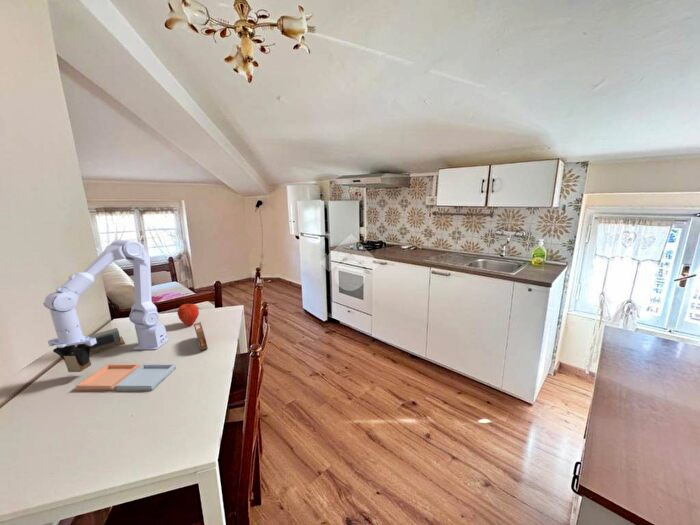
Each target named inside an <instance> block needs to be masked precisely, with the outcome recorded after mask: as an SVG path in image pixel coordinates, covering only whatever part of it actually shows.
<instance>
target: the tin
mask: <svg viewBox="0 0 700 525" xmlns="http://www.w3.org/2000/svg"><path fill="white" fill-rule="evenodd" d="M193 325H194V327H193V328H194V329H195V334H196V338H197V341H198V346H199V349H200V350H201V351H203V350H206V349H208V344H207V340H206V335H205V331H204V328H203V326H202V322H201V321H199V322H197V323H194V324H193Z"/></svg>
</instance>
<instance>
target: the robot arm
mask: <svg viewBox="0 0 700 525" xmlns="http://www.w3.org/2000/svg"><path fill="white" fill-rule="evenodd" d="M120 260H127V261H128V262H129V263H131V264H132V266H133V268H132V269H133V286H134V287H133V289H134V303H133V304H132V305H131V307H130V309H131V310H130V313H129V316H128V317H129V320H130V321H129V322H131V323H133V324H134V329H135V332H136V333H135V334H136V337H137V343H138V345H137V346H135V347H133V350H138V351H139V350H140V351H141V350H147V351H148V350H152V351H153V350H157V349H159V348H160V347H161V346H163V345H164V344H166V343H167V342H168V341H170V339H169V338H168V334H167V329H166V326H165V325H163V324H160V323H158V322H159V321H160V314H159V312H158V308H157V306H156V305H155V304H154V302H153V301H152V275H151V274H152V272H151V258H150V256H149V254H148V252H147V251H146V249H145V245H144V244H142V243H140V242H139V241H138V240H133V239H132V240H127V239H126V240H125V239H116V240H113V241H112V242H111V243H109V245H107V246H106V247H105V248H104V250H103V252H101V254H100V255H98V256H97V257H96V258H95V260H93V261H92V263H90V265H88V267H87V268H86V269H85V270H83V271H81V272H75V273H74V274H70V275H69V276H68V280H67V281H65V282H64V283H63V284H62V285H61V286H60V287H57V288H56V289H55V291H53V292H50V293H49V294H48V295H47V296H45V298H44V301H43V306H44V307H45V308H46V309H49V313H50V314H51V319H52V322H53V326H54V329H55V333H56V336H57V337H54V338H52V339H49V340H47V343H48V344H47V345H48V347H54V346H56V347H55V348H54V349H53V350H52V351H53V353H55V354H57V355H58V356H59V357H60V358H61V359H62V360H63V361H64V362H65V359H64V356H65V355H67V354H68V353H70V352H71V351H72V352H73V353H74V354H75V355H76V356H77V358H78V360H79V363H80V364H81V366H84V365H86V364H87V363H89V358H90V356H91V355H90V351H91V348H92V346H93V345H94V344H96V343H97V342H96V338H91V337H87V336H88V335H84V333H83V330H82V327H81V326H82V325H81V322H80V319H79V315H78V311H77V309H76V306H77V305H78V302H79V298H80V297H82V296H83V295H84V294H85V293H86V292H87V291H88V290H89V289H90V288H91V287H92V286H93V285H94V284H95V278H96V276H98V275H99V274H100V273H101V272H103V271H104V270H105V269H106V268H107V267H109V266H110V264H112V263H113V262H115V261H120Z"/></svg>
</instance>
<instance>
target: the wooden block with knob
mask: <svg viewBox="0 0 700 525" xmlns="http://www.w3.org/2000/svg"><path fill="white" fill-rule="evenodd" d="M64 359H65V361H64V362H65V365H66V368H67V372H68V373H81V372H82V371H84V370H86V369H87V368H89V367H90V366H92V363H91V359H90V357H89V363H87V364H86V365H84V366H81V364H80V363H79V360H78V358H77V356H76V355H75V354H74V353H73V352H72V351H71V352H70V353H68V354H67V355H65V356H64Z"/></svg>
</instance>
